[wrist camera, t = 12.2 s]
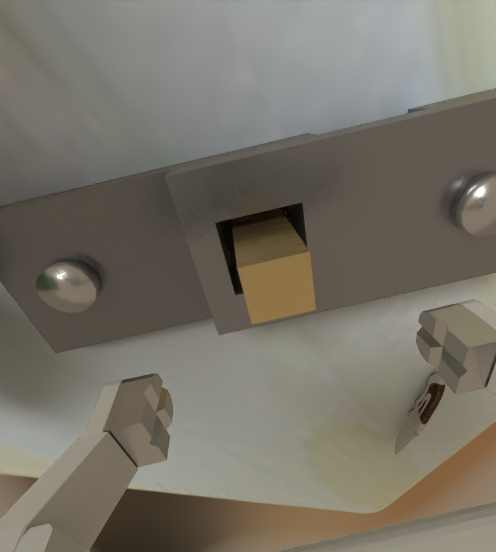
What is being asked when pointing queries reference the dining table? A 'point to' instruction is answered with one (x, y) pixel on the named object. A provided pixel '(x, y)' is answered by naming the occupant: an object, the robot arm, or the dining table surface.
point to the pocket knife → (421, 411)
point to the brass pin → (272, 266)
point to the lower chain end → (105, 259)
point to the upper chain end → (356, 206)
